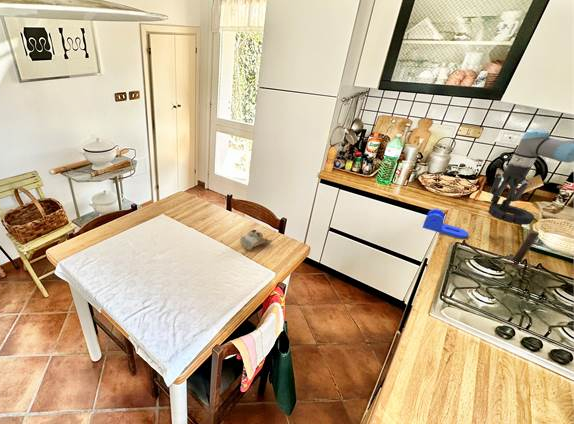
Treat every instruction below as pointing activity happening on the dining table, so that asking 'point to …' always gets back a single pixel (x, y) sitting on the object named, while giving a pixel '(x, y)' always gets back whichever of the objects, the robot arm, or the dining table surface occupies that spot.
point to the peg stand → (523, 250)
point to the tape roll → (518, 215)
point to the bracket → (442, 224)
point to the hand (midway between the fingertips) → (495, 210)
